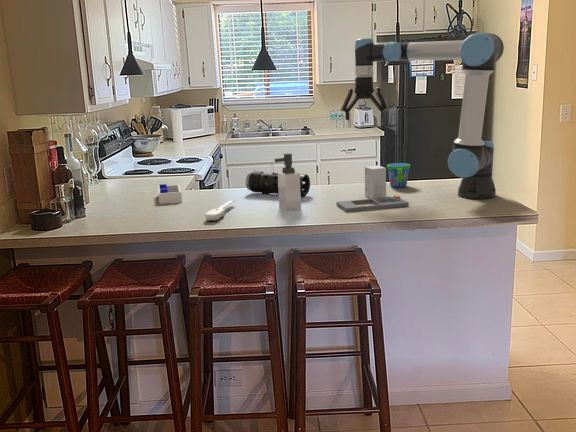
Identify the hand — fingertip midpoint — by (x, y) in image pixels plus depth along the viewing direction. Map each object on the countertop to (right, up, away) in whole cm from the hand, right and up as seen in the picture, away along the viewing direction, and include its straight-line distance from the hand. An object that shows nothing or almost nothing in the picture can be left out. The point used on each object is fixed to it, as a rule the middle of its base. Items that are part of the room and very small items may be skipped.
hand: (364, 126), depth 250 cm
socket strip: (0, -35, -20) cm, 40 cm away
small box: (+4, -31, -5) cm, 32 cm away
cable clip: (-88, -32, +6) cm, 93 cm away
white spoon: (-59, -38, -23) cm, 74 cm away
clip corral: (-86, -31, +7) cm, 92 cm away
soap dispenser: (-33, -36, -19) cm, 53 cm away
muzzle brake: (-38, -30, +7) cm, 49 cm away
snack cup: (+18, -25, +15) cm, 34 cm away
